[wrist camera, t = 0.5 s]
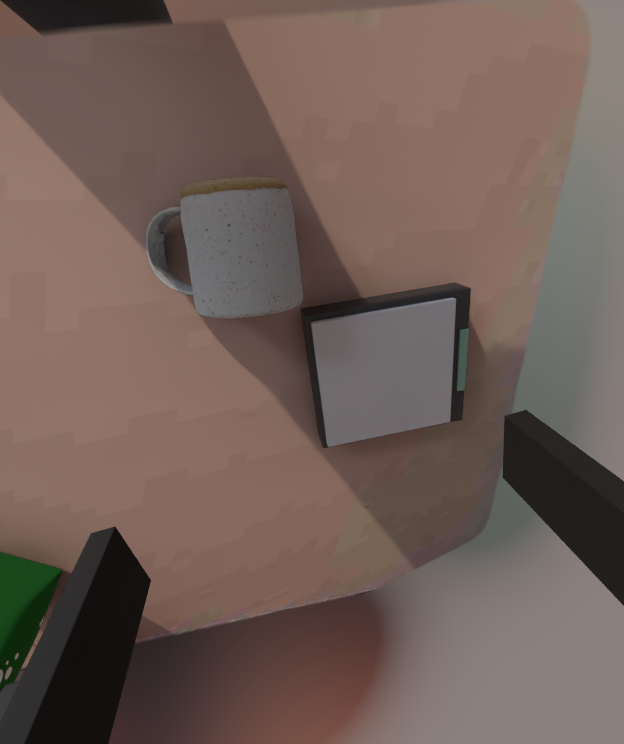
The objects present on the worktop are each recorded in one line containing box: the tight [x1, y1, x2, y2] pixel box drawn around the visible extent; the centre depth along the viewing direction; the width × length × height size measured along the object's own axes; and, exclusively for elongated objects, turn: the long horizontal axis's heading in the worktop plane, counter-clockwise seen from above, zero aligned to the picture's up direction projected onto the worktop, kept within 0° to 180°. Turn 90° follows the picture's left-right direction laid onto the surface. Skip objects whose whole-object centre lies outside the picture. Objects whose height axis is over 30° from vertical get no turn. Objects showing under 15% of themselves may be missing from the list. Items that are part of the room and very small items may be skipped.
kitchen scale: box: [301, 283, 471, 448], centre depth 32 cm, size 13×14×3 cm
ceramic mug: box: [146, 176, 303, 319], centre depth 24 cm, size 11×8×8 cm
